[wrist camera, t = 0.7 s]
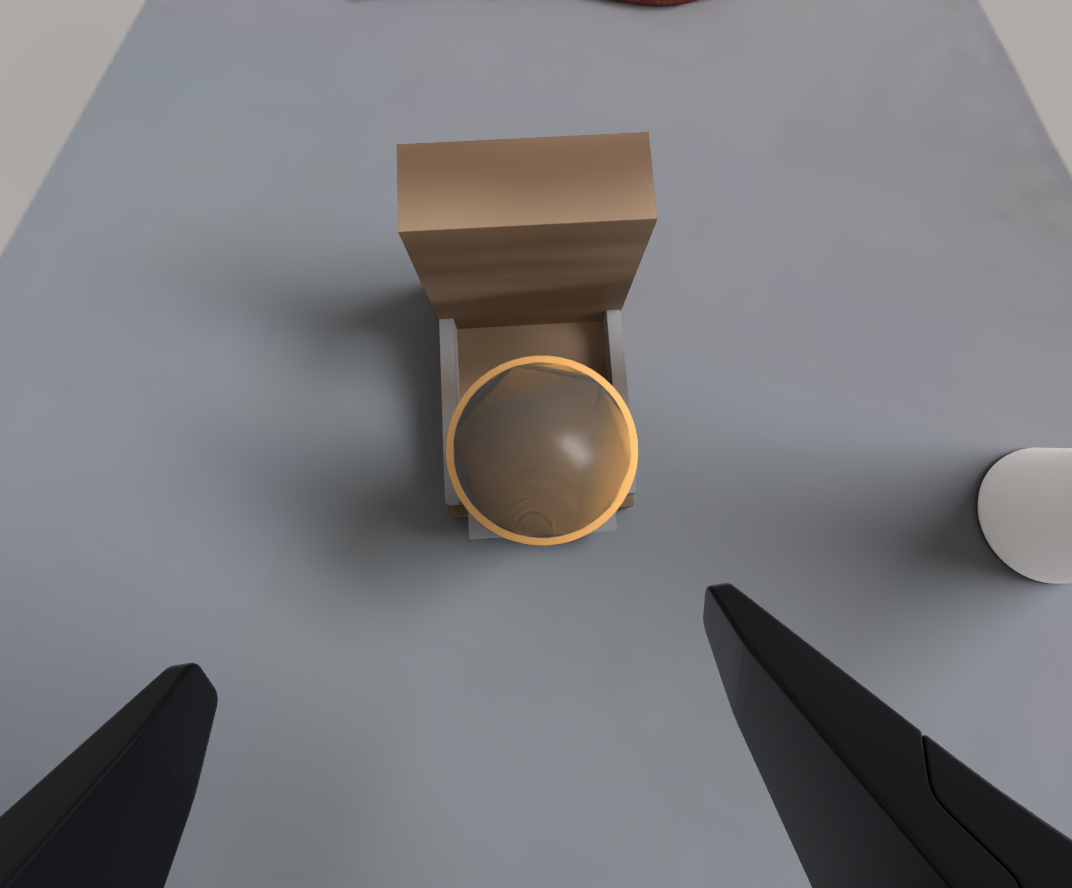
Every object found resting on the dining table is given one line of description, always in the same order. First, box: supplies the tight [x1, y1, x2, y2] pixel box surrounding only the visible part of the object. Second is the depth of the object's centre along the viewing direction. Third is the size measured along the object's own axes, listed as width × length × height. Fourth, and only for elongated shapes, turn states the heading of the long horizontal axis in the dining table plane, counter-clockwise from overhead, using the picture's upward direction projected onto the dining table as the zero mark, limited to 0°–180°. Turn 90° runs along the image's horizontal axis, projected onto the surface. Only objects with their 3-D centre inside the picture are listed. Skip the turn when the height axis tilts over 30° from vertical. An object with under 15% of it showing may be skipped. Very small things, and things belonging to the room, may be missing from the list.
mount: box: [397, 132, 657, 518], centre depth 20 cm, size 12×8×9 cm
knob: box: [446, 356, 638, 545], centre depth 19 cm, size 5×6×8 cm
